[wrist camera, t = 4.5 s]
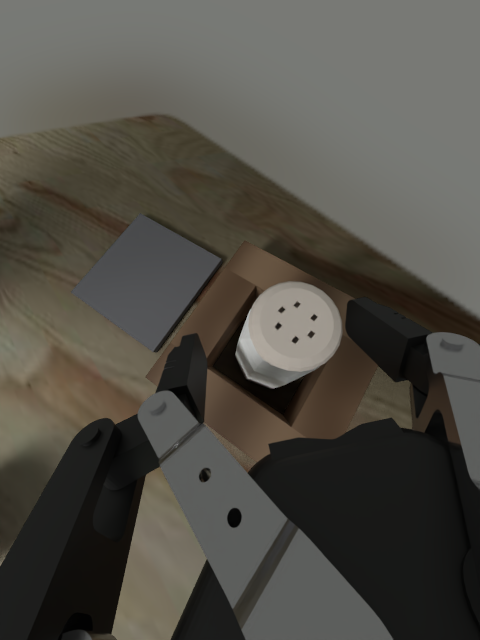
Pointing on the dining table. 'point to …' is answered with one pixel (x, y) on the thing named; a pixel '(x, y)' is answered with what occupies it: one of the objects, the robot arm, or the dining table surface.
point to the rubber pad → (147, 281)
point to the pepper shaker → (288, 334)
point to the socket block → (316, 387)
